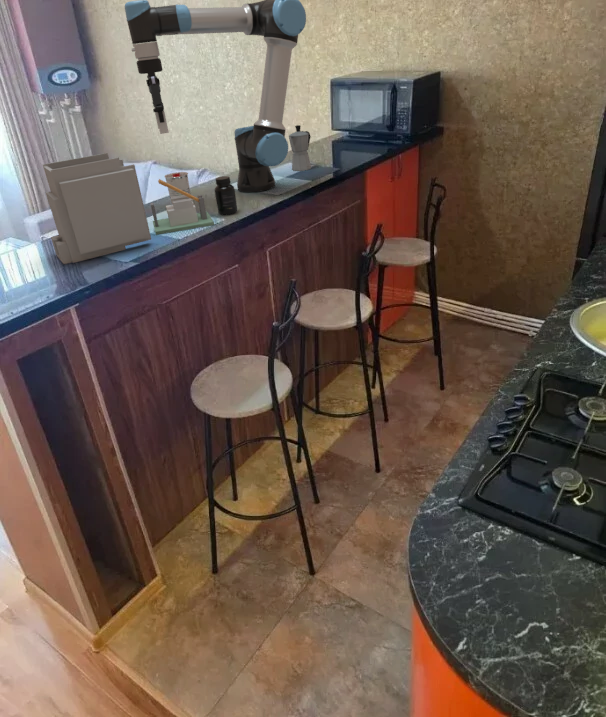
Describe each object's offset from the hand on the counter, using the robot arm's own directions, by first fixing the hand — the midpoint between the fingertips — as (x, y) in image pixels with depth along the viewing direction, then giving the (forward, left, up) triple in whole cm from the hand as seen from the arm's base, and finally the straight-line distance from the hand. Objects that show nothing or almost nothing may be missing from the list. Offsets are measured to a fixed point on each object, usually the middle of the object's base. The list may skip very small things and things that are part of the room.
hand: (163, 130), depth 190 cm
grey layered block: (+25, +26, -28) cm, 46 cm away
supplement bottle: (-16, +9, -28) cm, 34 cm away
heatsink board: (0, +14, -28) cm, 31 cm away
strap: (-1, +14, -18) cm, 22 cm away
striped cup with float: (-2, -8, -28) cm, 29 cm away
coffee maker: (-59, -43, -28) cm, 78 cm away
